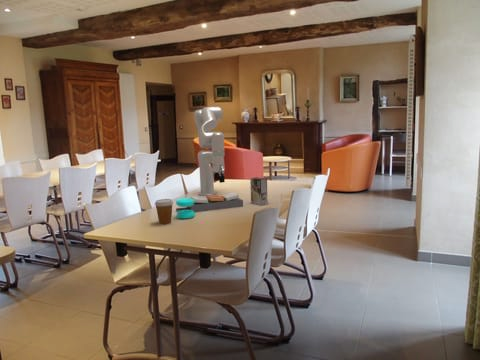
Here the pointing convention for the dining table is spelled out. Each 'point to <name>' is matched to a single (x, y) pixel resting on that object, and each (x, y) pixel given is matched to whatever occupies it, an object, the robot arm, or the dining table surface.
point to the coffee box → (258, 191)
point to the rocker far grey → (230, 196)
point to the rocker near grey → (199, 199)
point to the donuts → (185, 203)
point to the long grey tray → (213, 205)
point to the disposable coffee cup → (164, 210)
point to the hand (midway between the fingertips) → (219, 181)
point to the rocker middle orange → (214, 198)
